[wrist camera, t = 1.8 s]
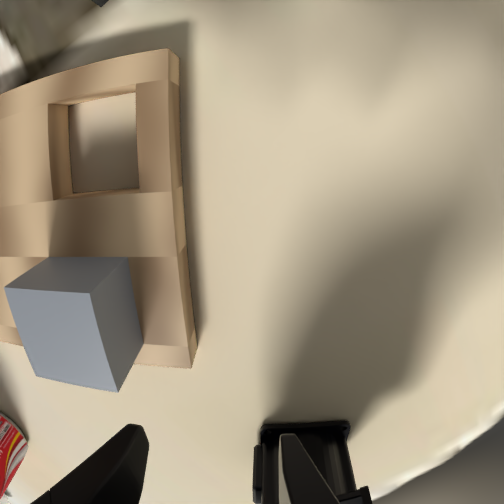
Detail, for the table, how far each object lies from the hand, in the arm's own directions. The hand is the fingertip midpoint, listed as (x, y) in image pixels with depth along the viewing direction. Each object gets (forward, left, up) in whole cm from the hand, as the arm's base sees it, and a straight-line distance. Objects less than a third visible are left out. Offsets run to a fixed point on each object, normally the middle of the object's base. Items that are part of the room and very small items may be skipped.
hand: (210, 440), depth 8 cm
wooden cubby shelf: (+14, -4, -10) cm, 17 cm away
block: (+8, 0, -8) cm, 11 cm away
